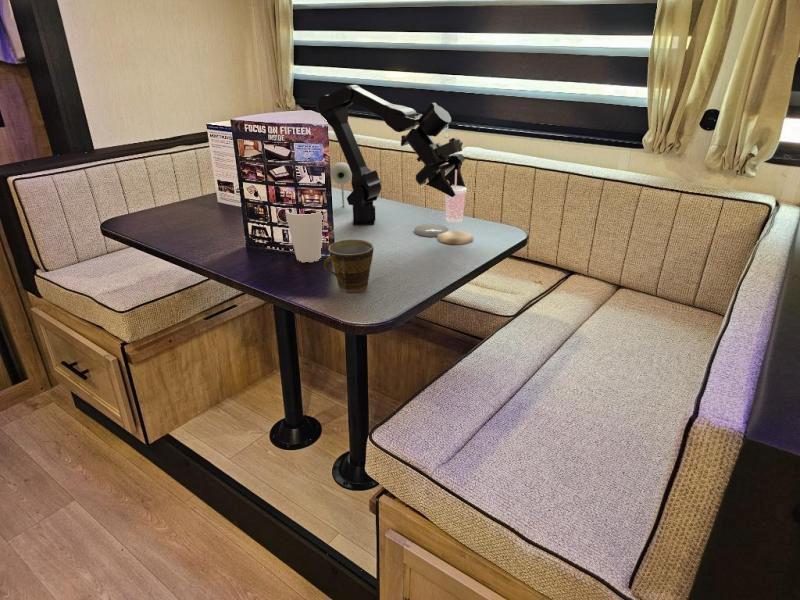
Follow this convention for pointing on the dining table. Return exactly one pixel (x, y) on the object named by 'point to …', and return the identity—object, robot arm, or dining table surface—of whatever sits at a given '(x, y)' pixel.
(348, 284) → the ceramic cup
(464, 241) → the shiny gold rounded object
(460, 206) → the beverage cup
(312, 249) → the foam cup
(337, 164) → the lollipop
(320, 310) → the dining table surface
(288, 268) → the dining table surface
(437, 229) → the grey dome cap
